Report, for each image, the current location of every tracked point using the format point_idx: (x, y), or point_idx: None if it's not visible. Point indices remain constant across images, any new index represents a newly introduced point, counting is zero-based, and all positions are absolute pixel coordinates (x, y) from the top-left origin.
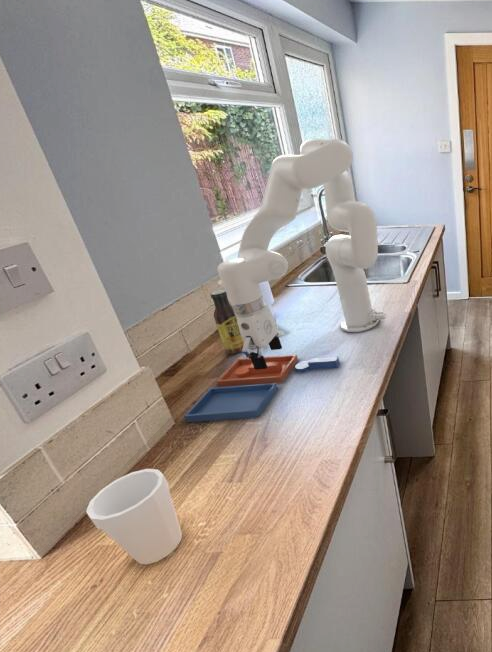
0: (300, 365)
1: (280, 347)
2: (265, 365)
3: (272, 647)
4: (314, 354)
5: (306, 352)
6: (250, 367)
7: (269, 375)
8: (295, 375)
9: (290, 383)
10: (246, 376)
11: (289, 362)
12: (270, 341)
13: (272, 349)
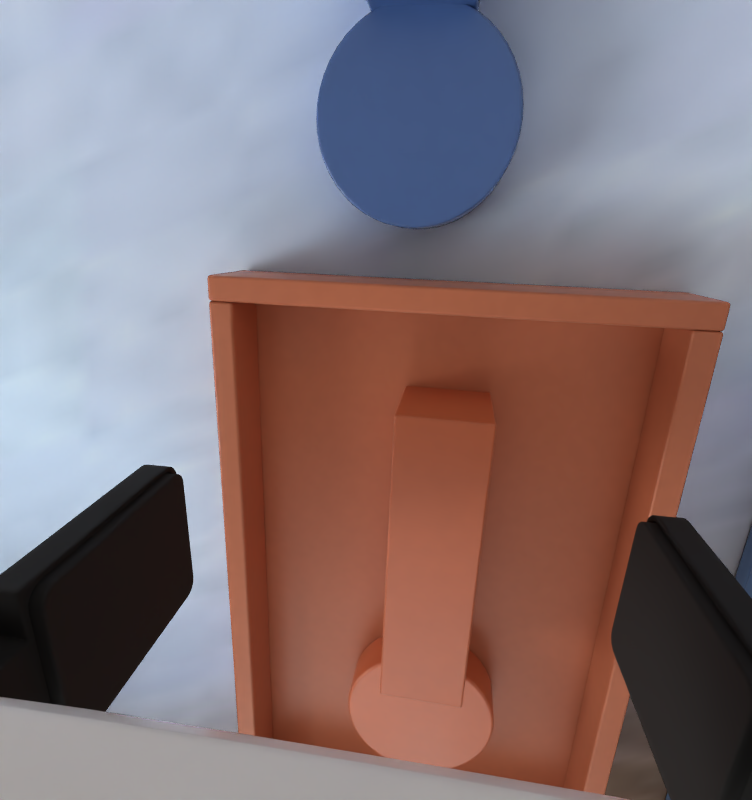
0: (427, 151)
1: (164, 481)
2: (706, 548)
3: None
4: (129, 110)
5: (90, 231)
6: (463, 688)
7: (522, 473)
8: (563, 187)
9: (741, 186)
10: (482, 663)
11: (382, 304)
12: (105, 666)
13: (187, 572)
